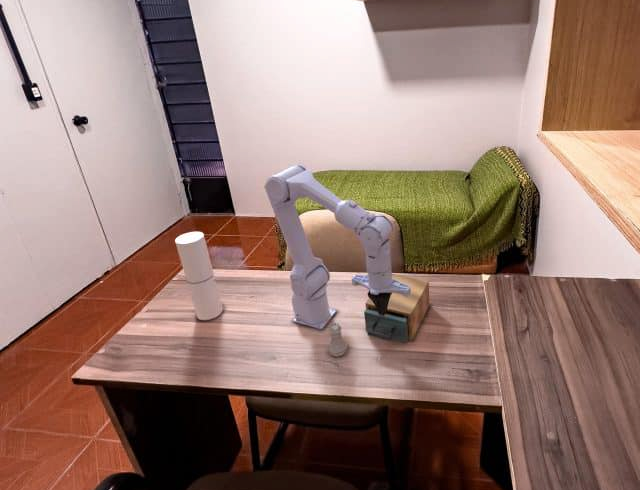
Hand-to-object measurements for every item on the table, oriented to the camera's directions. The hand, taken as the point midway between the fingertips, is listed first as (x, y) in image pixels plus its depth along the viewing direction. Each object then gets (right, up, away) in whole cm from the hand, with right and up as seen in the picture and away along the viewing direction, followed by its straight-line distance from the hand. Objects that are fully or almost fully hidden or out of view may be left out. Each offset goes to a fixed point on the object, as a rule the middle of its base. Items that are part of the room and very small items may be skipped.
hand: (383, 312), depth 96 cm
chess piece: (-11, -10, +2) cm, 15 cm away
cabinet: (+5, -4, +12) cm, 14 cm away
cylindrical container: (-52, -5, +19) cm, 55 cm away
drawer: (+3, -6, +8) cm, 10 cm away
